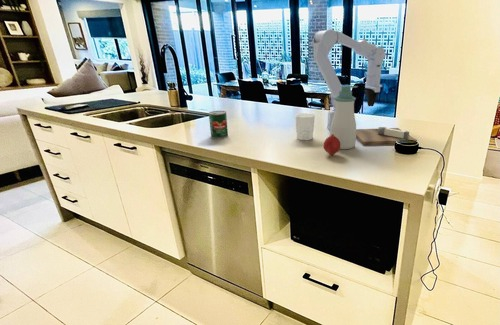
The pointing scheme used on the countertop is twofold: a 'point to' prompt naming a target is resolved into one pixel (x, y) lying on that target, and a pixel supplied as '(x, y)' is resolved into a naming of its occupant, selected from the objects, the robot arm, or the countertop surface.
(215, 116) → the canned tomato
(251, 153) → the countertop surface
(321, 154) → the countertop surface
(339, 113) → the soap bottle
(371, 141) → the dial board
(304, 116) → the white cup
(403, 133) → the dial lever
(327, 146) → the onion
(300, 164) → the countertop surface
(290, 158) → the countertop surface
